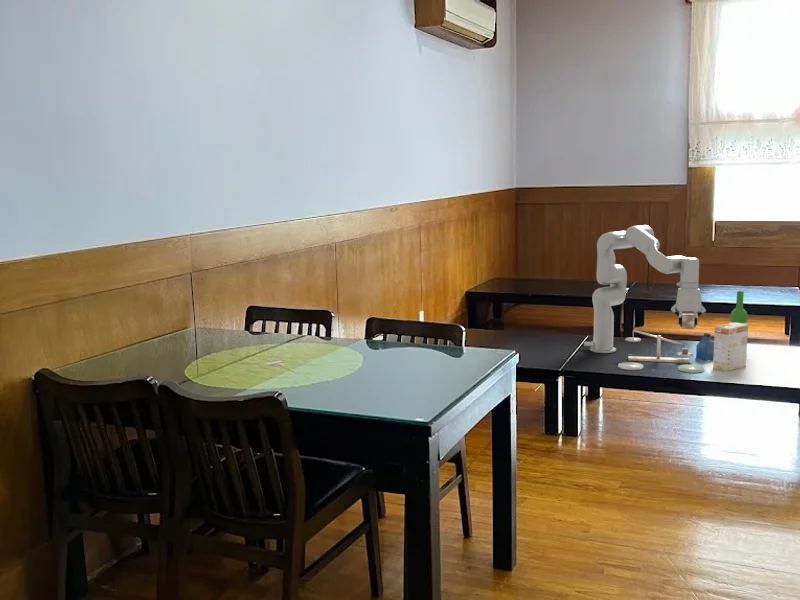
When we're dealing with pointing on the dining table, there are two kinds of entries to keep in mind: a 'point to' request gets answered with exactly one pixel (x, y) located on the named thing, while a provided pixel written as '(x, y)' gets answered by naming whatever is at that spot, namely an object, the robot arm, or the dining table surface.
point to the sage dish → (691, 368)
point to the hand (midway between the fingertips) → (687, 325)
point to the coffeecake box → (730, 346)
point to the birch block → (688, 321)
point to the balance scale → (658, 358)
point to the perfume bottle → (705, 348)
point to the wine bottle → (739, 311)
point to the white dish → (630, 366)
